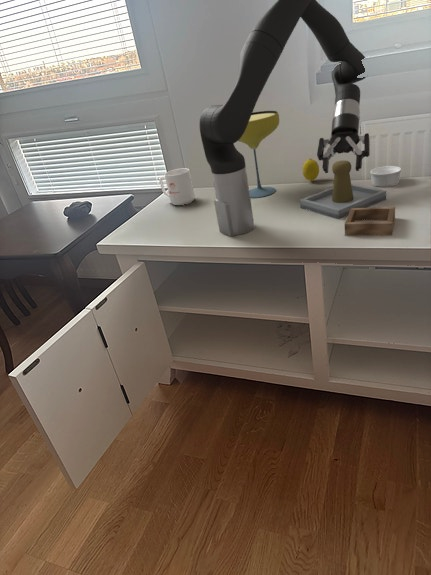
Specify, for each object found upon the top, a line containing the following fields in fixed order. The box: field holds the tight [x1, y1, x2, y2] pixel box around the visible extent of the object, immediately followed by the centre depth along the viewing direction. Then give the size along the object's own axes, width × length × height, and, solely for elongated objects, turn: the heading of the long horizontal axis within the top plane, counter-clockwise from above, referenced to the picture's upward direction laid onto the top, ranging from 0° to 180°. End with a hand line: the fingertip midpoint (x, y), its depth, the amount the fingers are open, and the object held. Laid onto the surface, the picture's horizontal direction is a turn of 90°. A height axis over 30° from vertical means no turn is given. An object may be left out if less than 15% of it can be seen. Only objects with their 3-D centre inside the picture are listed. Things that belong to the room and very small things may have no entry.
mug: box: [158, 167, 196, 206], centre depth 154 cm, size 12×9×11 cm
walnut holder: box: [344, 206, 396, 236], centre depth 108 cm, size 11×11×3 cm
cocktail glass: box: [237, 110, 280, 199], centre depth 143 cm, size 18×18×25 cm
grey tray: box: [299, 183, 387, 220], centre depth 125 cm, size 18×16×2 cm
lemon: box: [302, 158, 320, 182], centre depth 148 cm, size 6×6×8 cm
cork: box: [331, 160, 354, 203], centre depth 123 cm, size 6×6×11 cm
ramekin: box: [369, 165, 402, 188], centre depth 134 cm, size 9×9×4 cm
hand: (341, 170), depth 122 cm, fingers open, 8 cm apart
